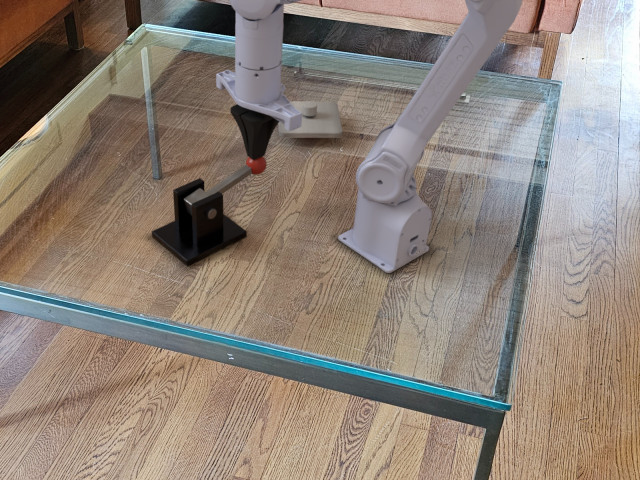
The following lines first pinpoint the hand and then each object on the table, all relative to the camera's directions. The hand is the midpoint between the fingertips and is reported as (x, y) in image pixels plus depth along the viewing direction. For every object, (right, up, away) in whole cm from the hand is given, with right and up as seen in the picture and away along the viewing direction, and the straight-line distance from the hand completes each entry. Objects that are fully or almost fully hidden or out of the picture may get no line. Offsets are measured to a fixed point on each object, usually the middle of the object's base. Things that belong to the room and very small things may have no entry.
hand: (256, 155), depth 112 cm
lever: (-4, -5, 0) cm, 6 cm away
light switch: (+9, +7, +22) cm, 25 cm away
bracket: (-8, -11, +1) cm, 13 cm away
